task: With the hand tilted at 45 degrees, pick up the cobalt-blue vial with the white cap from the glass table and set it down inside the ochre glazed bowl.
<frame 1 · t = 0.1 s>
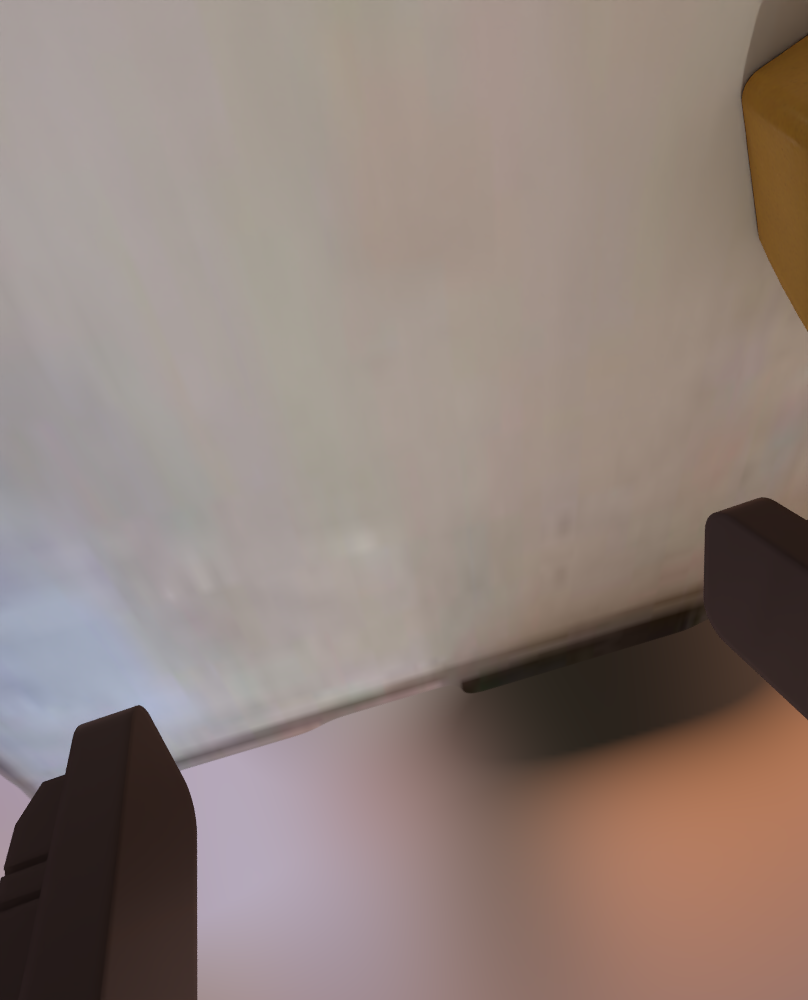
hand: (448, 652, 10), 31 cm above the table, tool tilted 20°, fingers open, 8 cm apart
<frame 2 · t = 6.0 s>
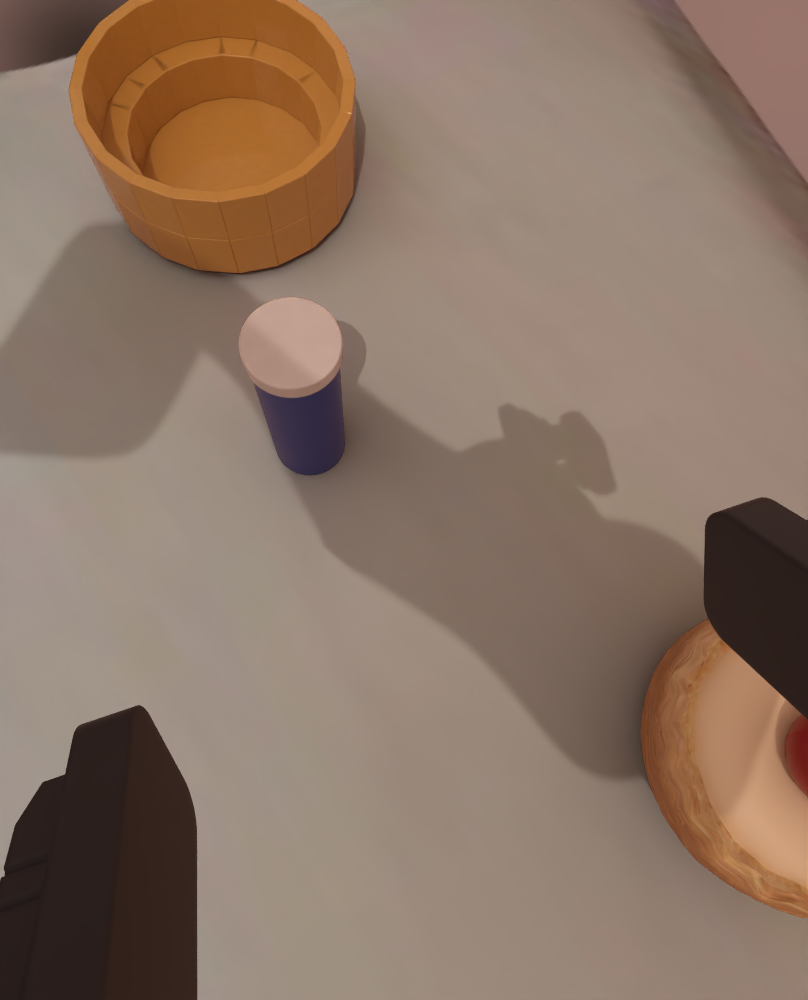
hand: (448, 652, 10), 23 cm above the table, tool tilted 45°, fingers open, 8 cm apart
pastry: (745, 744, 32), on the table
vial: (310, 442, 34), on the table
bowl: (236, 176, 38), on the table
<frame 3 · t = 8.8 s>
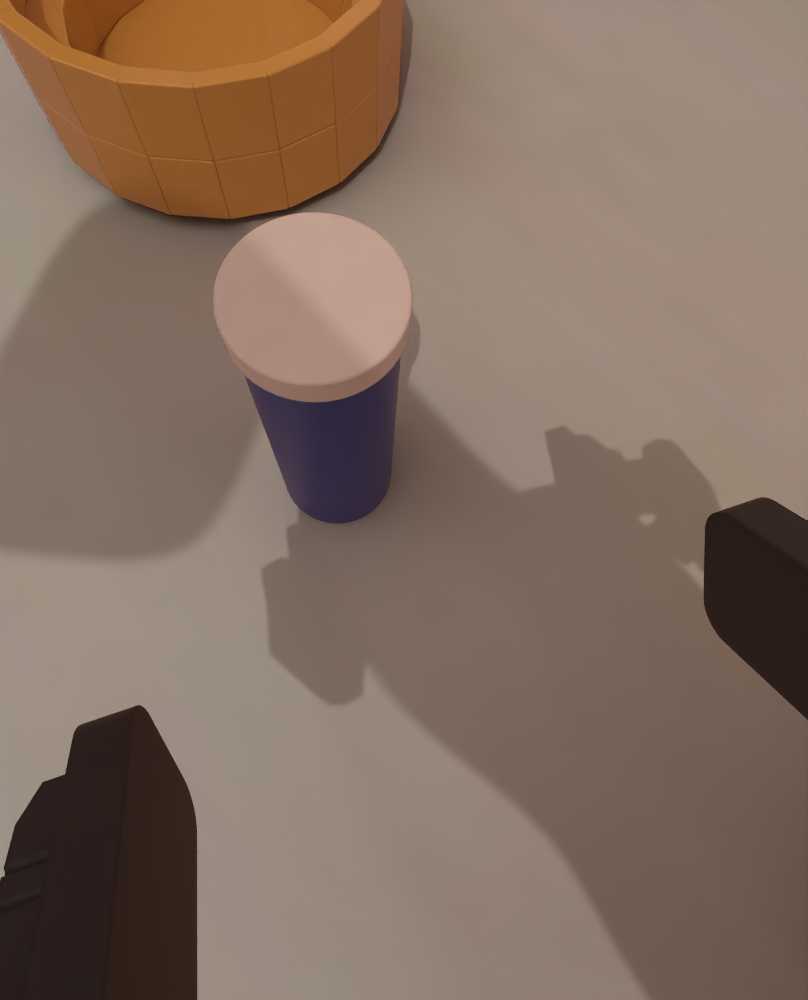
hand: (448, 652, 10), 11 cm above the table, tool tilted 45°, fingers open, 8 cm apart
vial: (338, 472, 22), on the table
bowl: (228, 86, 27), on the table
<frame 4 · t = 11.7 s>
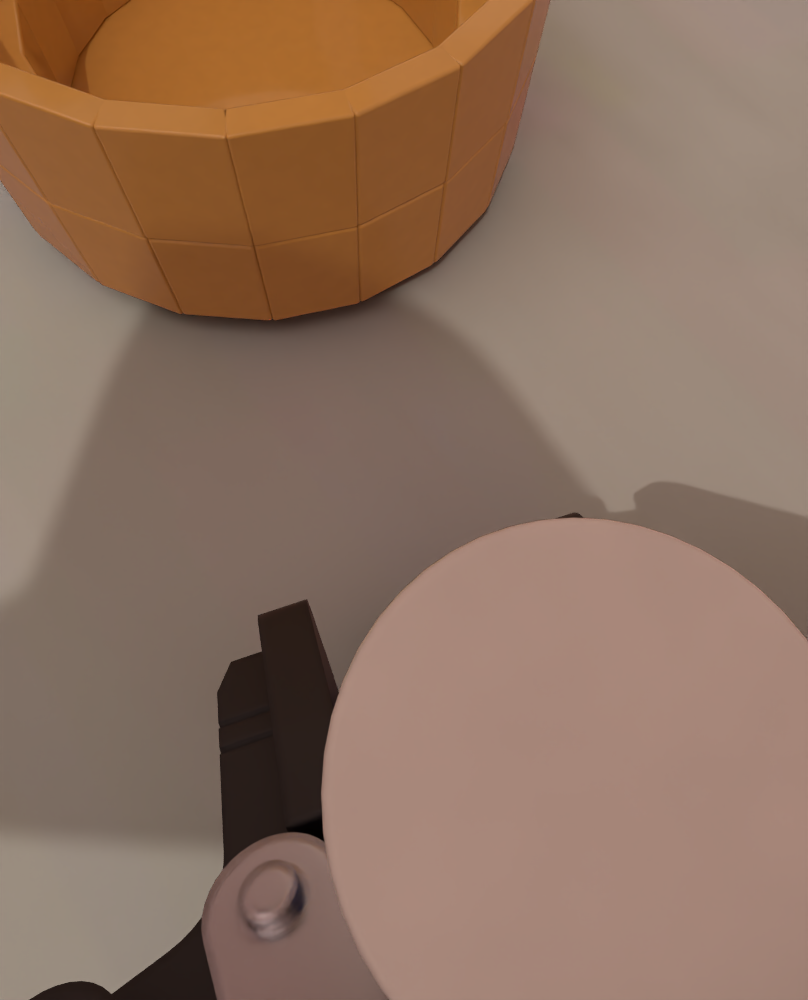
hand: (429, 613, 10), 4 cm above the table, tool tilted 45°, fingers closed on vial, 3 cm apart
vial: (444, 736, 14), on the table, touching gripper
bowl: (264, 115, 18), on the table
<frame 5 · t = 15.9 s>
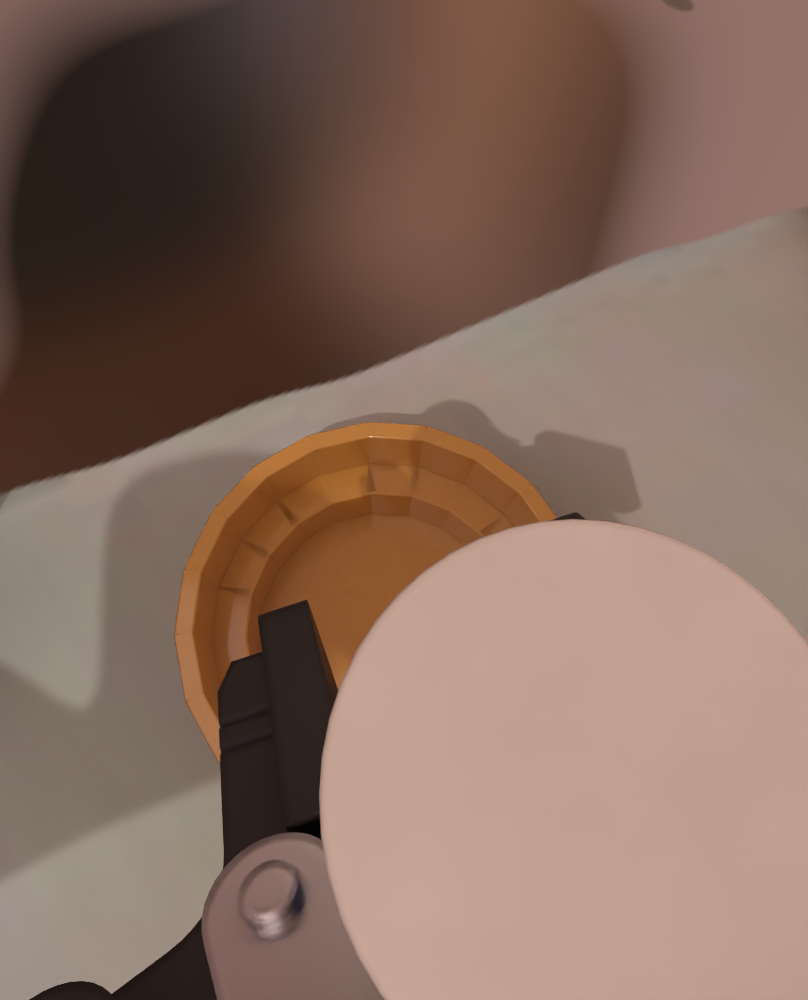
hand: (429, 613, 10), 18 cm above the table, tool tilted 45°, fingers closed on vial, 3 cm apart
vial: (445, 736, 14), point 13 cm above the table, touching gripper
bowl: (383, 633, 28), on the table
when the fingers open (5 cm above the table, at t = 20.1 s): vial stays where it is, resting on bowl.
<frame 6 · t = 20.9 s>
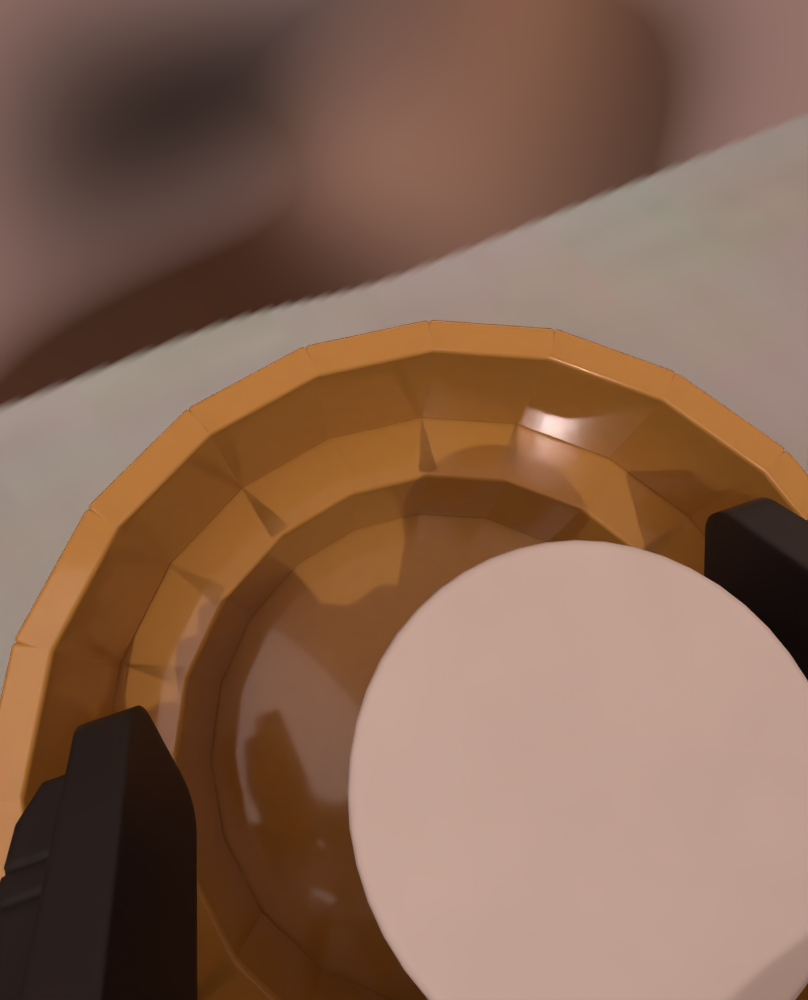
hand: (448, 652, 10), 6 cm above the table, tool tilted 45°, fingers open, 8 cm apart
vial: (452, 737, 15), point 1 cm above the table, touching bowl
bowl: (442, 734, 15), on the table
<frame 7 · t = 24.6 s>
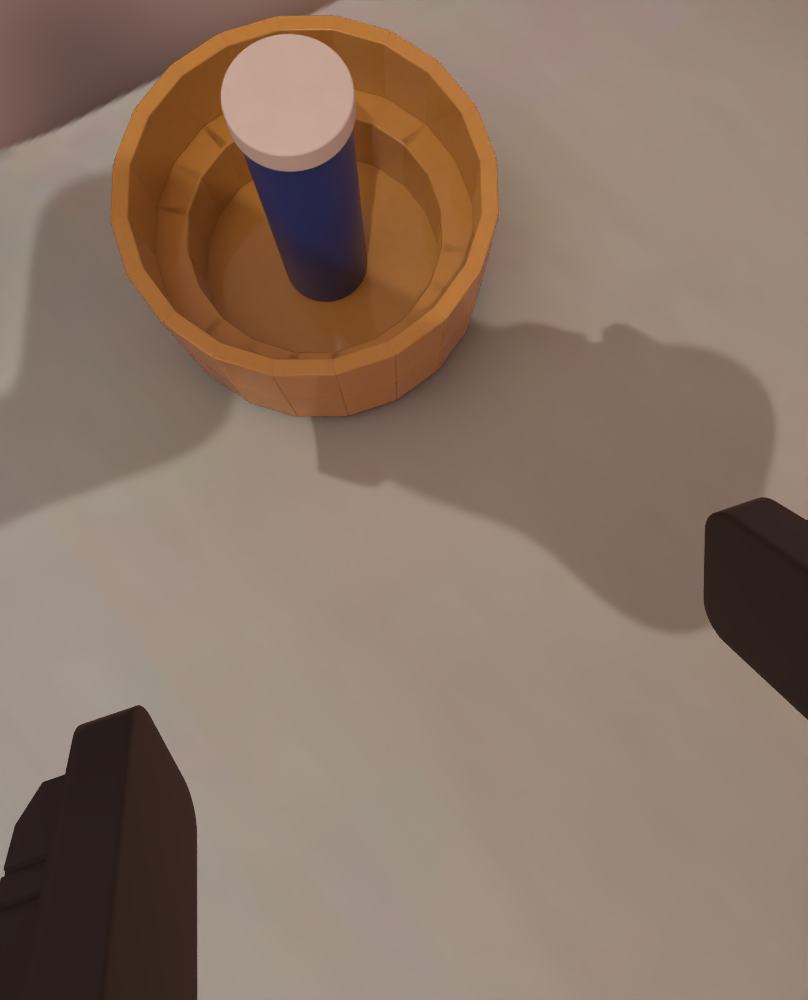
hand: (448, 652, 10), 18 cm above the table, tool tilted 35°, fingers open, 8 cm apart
vial: (326, 263, 29), point 1 cm above the table, touching bowl
bowl: (324, 269, 30), on the table
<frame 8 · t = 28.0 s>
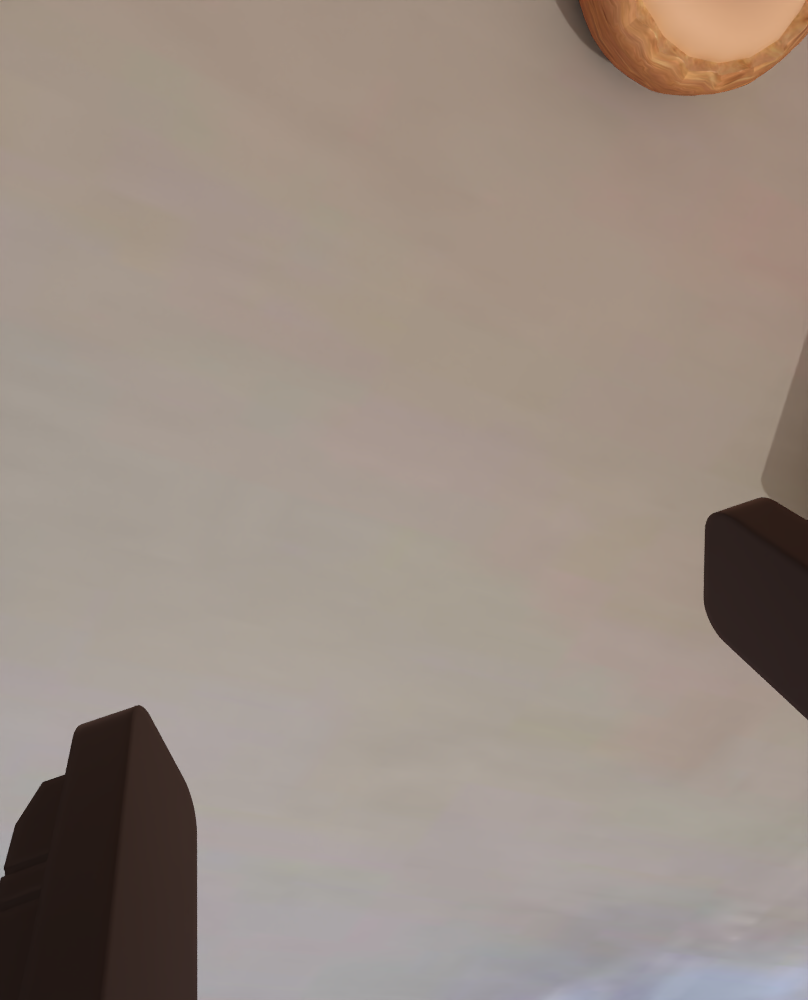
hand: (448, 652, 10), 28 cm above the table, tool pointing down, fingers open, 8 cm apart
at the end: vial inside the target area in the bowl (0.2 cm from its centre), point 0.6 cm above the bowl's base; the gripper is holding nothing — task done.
